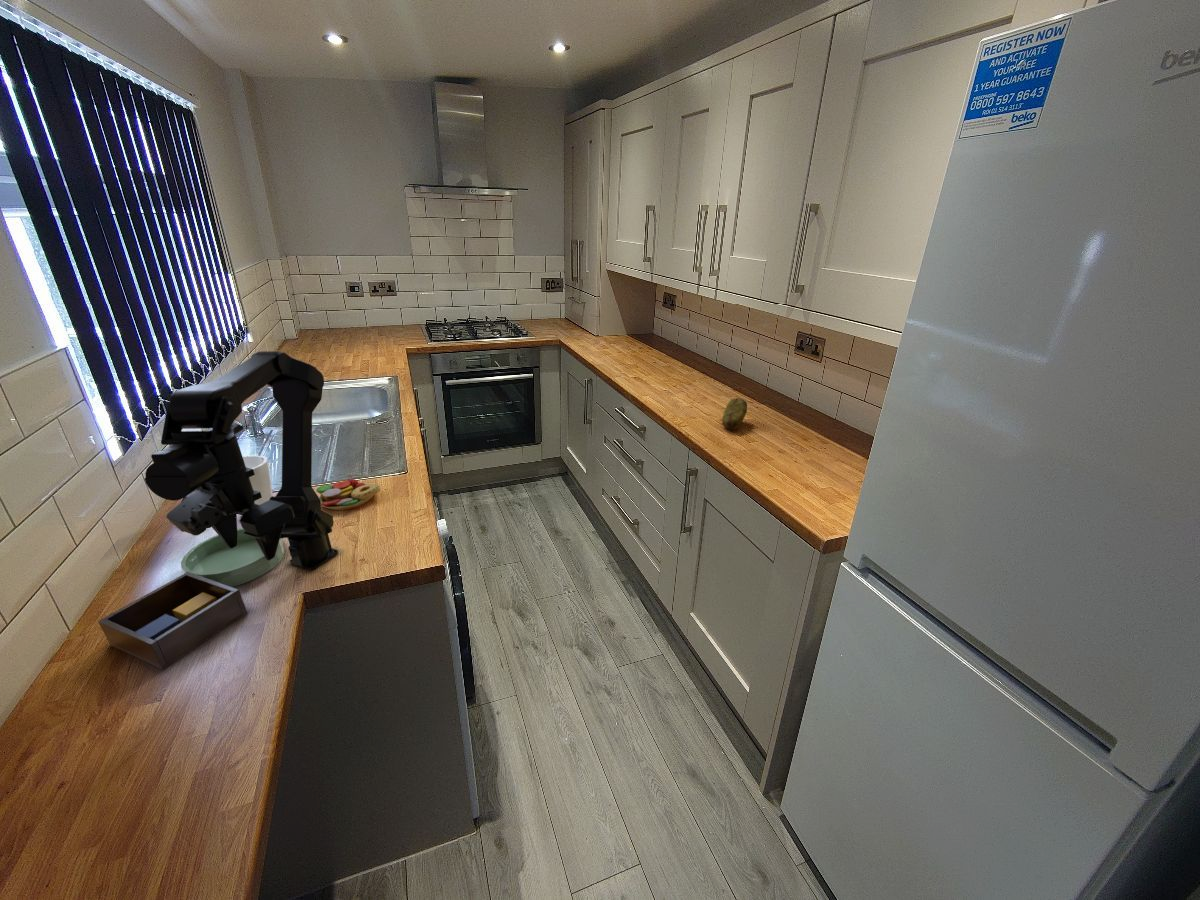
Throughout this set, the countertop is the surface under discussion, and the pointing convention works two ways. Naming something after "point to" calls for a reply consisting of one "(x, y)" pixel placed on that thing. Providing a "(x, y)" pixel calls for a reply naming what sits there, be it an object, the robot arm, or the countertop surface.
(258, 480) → the foam cup
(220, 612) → the holder
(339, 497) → the toy food set
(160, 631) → the blue gray block
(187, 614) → the yellow block
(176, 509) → the robot arm
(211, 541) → the bowl
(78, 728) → the countertop surface
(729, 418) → the olive green oval lump
